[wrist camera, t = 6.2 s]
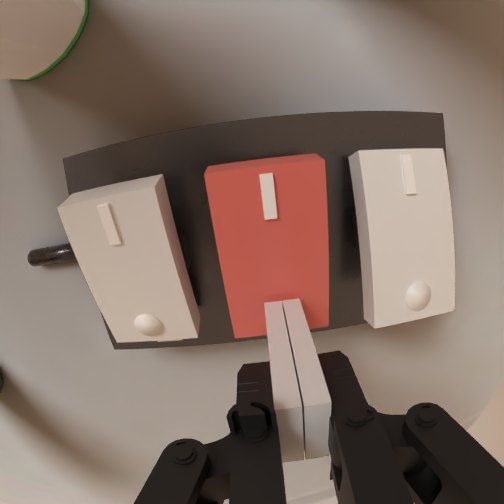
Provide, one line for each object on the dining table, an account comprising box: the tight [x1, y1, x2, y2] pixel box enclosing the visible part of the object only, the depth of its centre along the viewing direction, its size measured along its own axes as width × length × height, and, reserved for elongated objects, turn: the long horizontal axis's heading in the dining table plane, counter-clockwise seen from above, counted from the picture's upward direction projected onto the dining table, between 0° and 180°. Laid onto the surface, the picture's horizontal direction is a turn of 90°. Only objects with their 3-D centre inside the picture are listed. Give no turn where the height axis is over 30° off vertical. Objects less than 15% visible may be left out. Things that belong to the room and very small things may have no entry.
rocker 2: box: [204, 153, 329, 338], centre depth 14 cm, size 8×5×2 cm, turn 7°
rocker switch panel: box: [28, 111, 447, 349], centre depth 18 cm, size 12×28×5 cm, turn 97°
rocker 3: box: [348, 148, 455, 329], centre depth 14 cm, size 8×5×2 cm, turn 7°
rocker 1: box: [57, 174, 200, 343], centre depth 14 cm, size 8×5×2 cm, turn 7°
